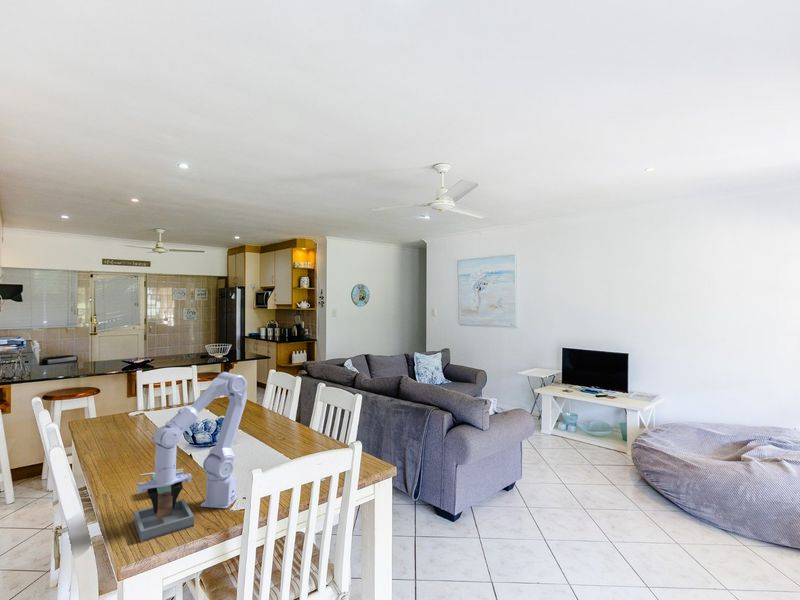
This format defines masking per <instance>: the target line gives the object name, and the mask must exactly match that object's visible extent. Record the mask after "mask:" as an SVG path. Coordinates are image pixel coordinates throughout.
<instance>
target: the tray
mask: <svg viewBox="0 0 800 600" xmlns="http://www.w3.org/2000/svg"><path fill="white" fill-rule="evenodd" d="M133 523H134V524H133V525H134V527H135V529H136V530H135V531H136V532H137V535H138V536H137V537H138V539H139V542H140V543H143V542H145V541H150V540H152V539H156V538H159V537H164V536H166V535H168V534H173V533H176V532H180V531H183V530H186V529H189V528H192V527H194V526H195V515H194V513H193V512H192V510H191V509H190V507H189V506H188V503H187V502H186V500H185V499H184V498H181V499H177V500H176V503H175V507H174V509H172V515H171V516H167V517H164V518H160V519H157V518H156V515H155V513H154V511H153V506H151V507H146V508H143V509H139V510H135V511H133Z"/></svg>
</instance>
